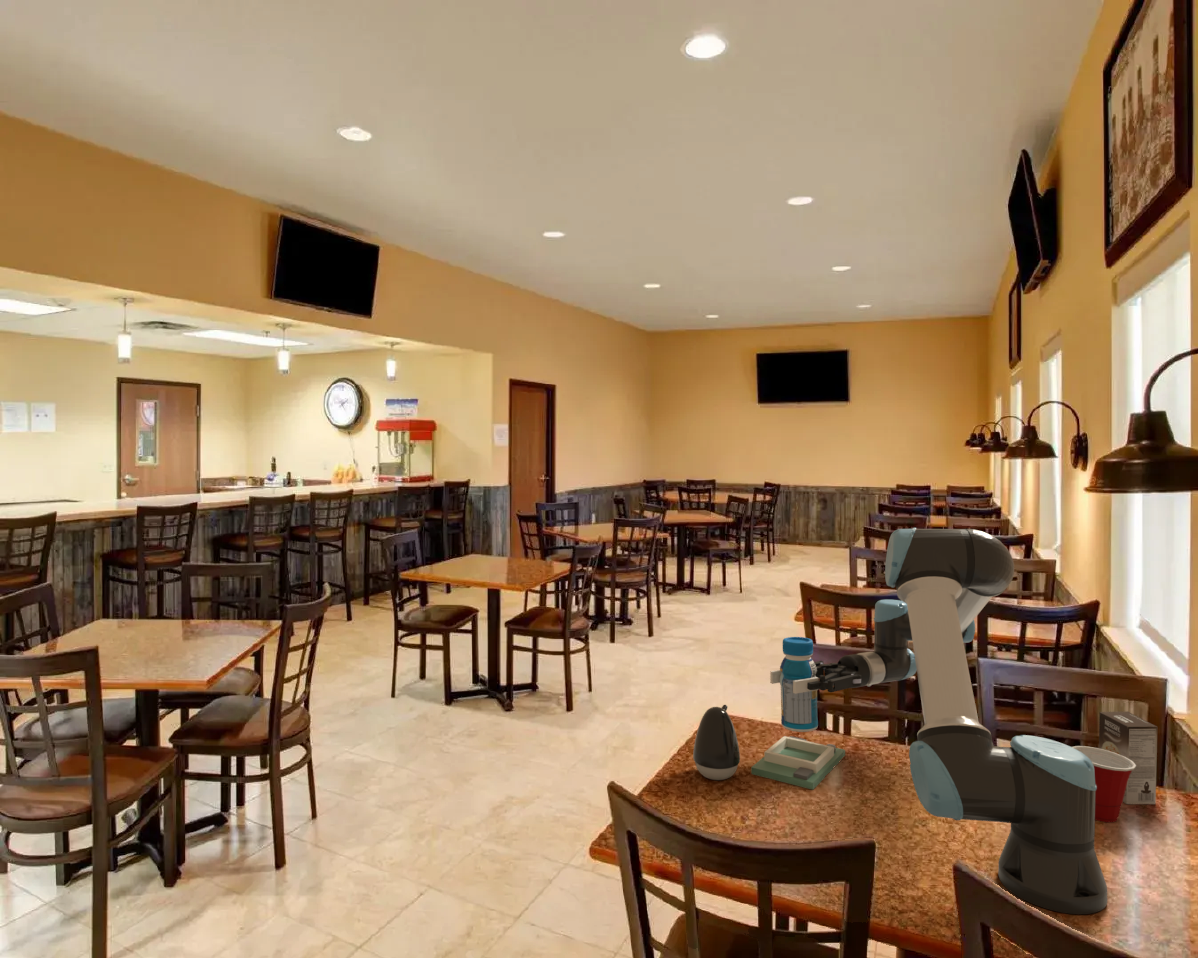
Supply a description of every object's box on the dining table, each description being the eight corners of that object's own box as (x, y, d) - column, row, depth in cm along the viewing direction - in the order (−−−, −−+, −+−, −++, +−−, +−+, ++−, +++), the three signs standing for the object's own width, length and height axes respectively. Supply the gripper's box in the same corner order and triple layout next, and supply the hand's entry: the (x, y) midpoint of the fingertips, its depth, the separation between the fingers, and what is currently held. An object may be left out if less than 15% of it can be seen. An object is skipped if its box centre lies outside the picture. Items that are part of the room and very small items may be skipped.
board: (813, 789, 157) (813, 773, 157) (751, 773, 165) (751, 758, 165) (845, 755, 175) (845, 741, 175) (787, 743, 183) (788, 728, 183)
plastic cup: (1146, 831, 139) (1147, 768, 138) (1082, 826, 141) (1083, 763, 141) (1118, 805, 149) (1119, 746, 149) (1059, 800, 151) (1060, 742, 151)
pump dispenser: (747, 771, 166) (747, 704, 166) (729, 789, 157) (729, 718, 157) (705, 762, 172) (705, 696, 171) (685, 778, 163) (685, 709, 162)
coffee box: (1096, 785, 159) (1097, 710, 158) (1126, 785, 159) (1127, 710, 158) (1126, 804, 150) (1127, 725, 149) (1158, 804, 149) (1159, 725, 149)
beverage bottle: (792, 734, 165) (790, 645, 165) (773, 722, 173) (771, 637, 173) (826, 730, 167) (824, 641, 167) (806, 718, 175) (804, 634, 175)
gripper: (892, 697, 168) (812, 712, 158) (830, 674, 186) (755, 686, 177) (892, 664, 168) (812, 677, 158) (830, 644, 186) (755, 655, 177)
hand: (782, 682), depth 167 cm, fingers closed on beverage bottle, 7 cm apart
